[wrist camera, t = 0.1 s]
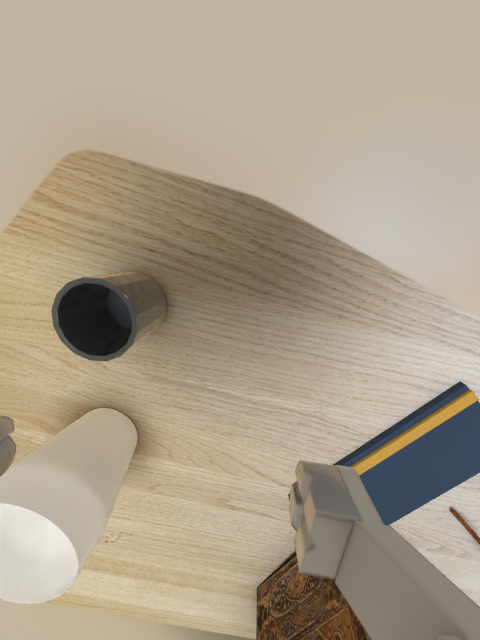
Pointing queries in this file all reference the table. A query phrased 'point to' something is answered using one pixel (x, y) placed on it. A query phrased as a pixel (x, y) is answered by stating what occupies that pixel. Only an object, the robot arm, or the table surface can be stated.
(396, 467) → the towel
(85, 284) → the grey tumbler
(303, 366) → the table surface
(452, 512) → the glasses
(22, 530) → the cup
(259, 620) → the book
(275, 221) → the table surface
